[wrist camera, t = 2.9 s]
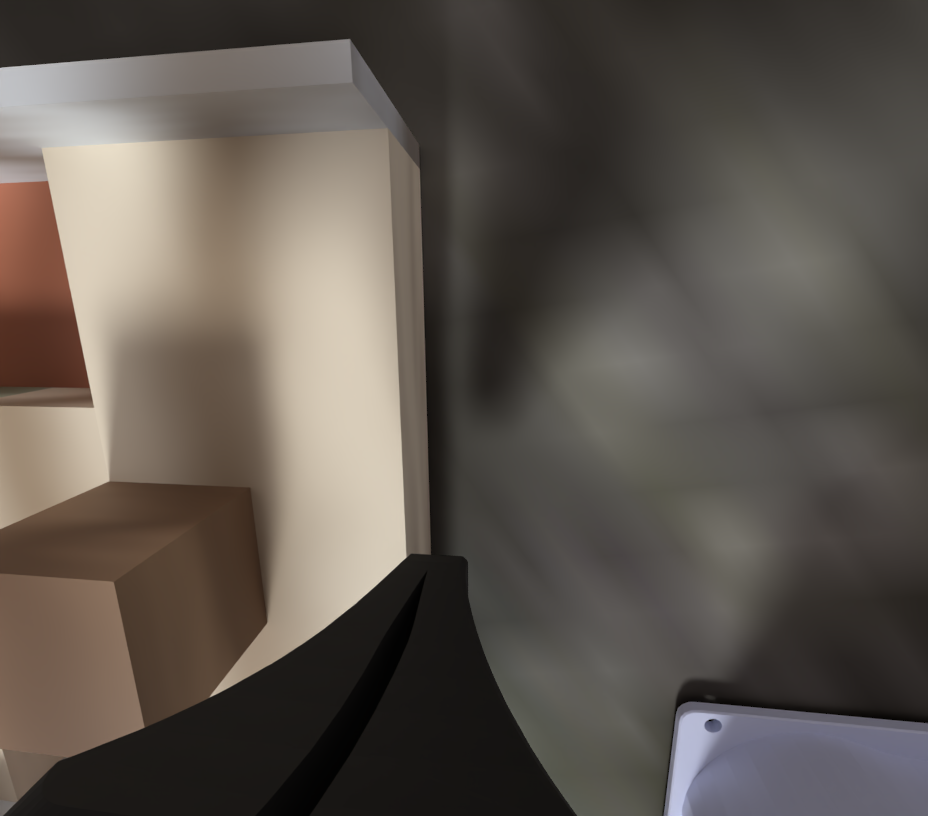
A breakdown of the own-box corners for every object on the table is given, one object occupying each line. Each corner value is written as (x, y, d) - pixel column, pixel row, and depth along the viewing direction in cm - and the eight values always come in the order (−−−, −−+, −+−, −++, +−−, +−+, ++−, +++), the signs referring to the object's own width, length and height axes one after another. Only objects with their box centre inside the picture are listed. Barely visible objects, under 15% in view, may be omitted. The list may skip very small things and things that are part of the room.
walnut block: (250, 487, 12) (113, 581, 8) (267, 623, 12) (153, 768, 9) (109, 481, 12) (-87, 567, 8) (135, 612, 13) (-29, 745, 9)
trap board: (419, 144, 12) (350, 38, 7) (437, 775, 17) (403, 966, 12) (-168, 175, 14) (-522, 110, 9) (-2, 723, 19) (-178, 866, 14)
